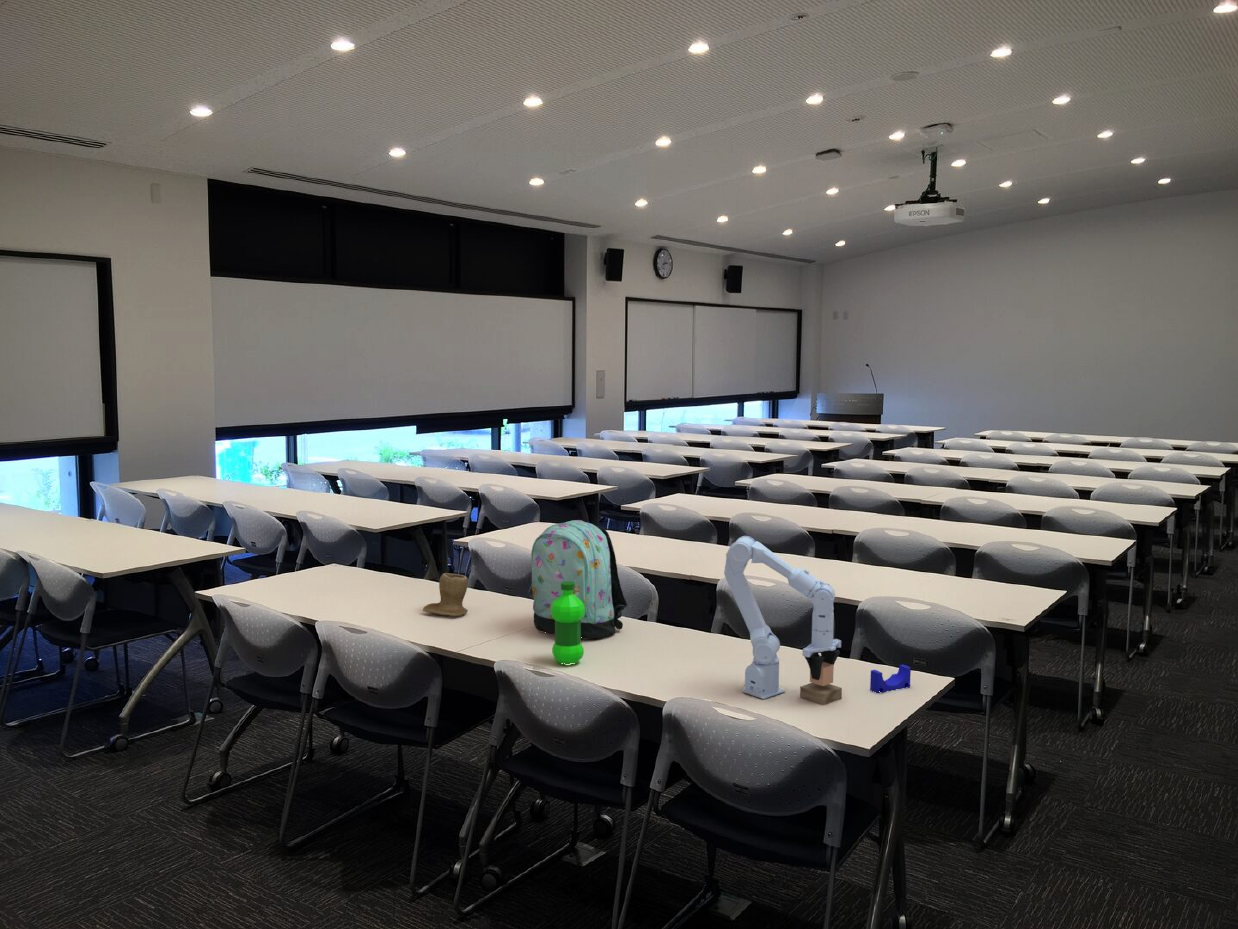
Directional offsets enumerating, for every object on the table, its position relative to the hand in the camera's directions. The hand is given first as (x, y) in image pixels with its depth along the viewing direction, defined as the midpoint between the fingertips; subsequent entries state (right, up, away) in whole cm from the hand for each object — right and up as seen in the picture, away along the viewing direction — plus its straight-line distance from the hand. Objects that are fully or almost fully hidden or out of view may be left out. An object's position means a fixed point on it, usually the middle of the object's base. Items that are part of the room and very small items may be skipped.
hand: (821, 677), depth 261 cm
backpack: (-71, +1, +62) cm, 94 cm away
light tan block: (0, -1, 0) cm, 1 cm away
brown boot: (-118, +4, +86) cm, 146 cm away
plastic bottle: (-71, -3, +30) cm, 78 cm away
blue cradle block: (+21, -6, +9) cm, 23 cm away
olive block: (0, -6, +1) cm, 6 cm away
